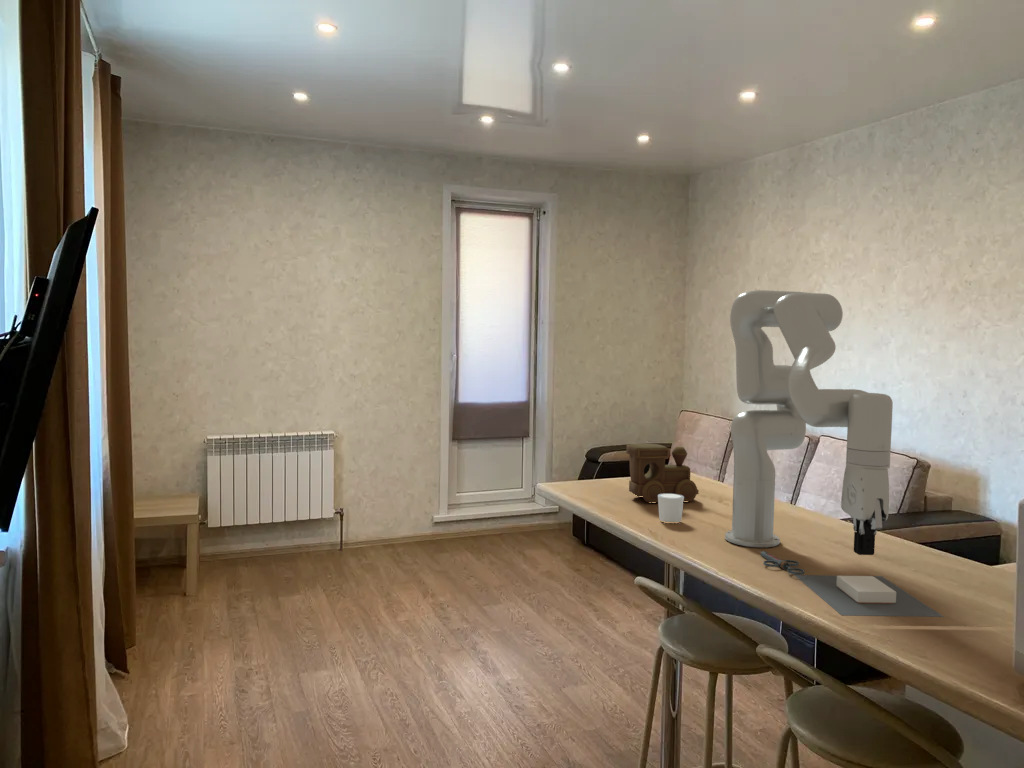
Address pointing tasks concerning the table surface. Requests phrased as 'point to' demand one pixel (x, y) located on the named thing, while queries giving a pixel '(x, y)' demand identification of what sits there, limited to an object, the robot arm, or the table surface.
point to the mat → (849, 607)
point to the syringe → (781, 563)
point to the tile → (866, 589)
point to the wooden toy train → (659, 472)
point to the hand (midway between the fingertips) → (863, 553)
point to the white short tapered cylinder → (670, 507)
